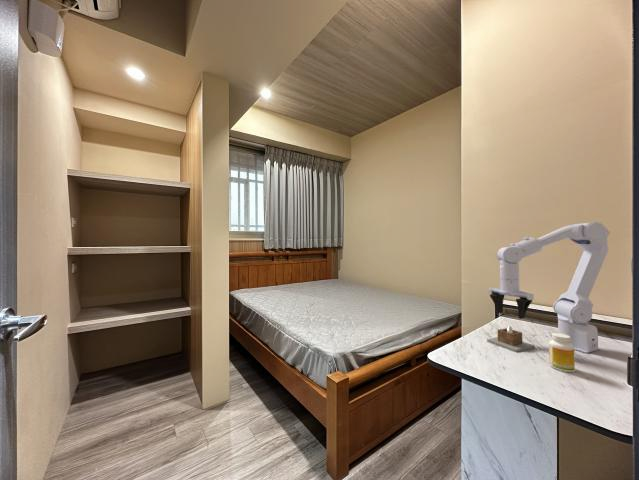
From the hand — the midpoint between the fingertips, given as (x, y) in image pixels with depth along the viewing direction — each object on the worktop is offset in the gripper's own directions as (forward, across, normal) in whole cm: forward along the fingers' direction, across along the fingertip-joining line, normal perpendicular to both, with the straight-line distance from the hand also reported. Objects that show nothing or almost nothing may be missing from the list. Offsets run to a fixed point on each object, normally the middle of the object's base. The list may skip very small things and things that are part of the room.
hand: (510, 315), depth 94 cm
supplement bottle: (+10, +18, -7) cm, 22 cm away
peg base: (+10, +2, -3) cm, 10 cm away
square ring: (+9, +1, -3) cm, 10 cm away
